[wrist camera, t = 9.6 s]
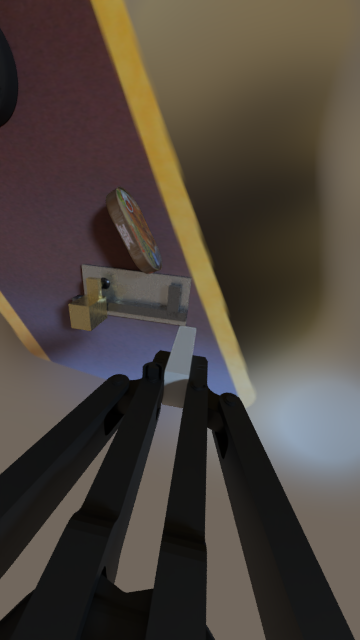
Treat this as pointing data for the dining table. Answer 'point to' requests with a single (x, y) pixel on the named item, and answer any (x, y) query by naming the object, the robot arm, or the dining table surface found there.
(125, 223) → the tin
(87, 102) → the dining table surface
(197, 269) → the dining table surface
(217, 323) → the dining table surface
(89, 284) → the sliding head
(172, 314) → the grey slide rail base
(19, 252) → the dining table surface
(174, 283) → the bolt plate
